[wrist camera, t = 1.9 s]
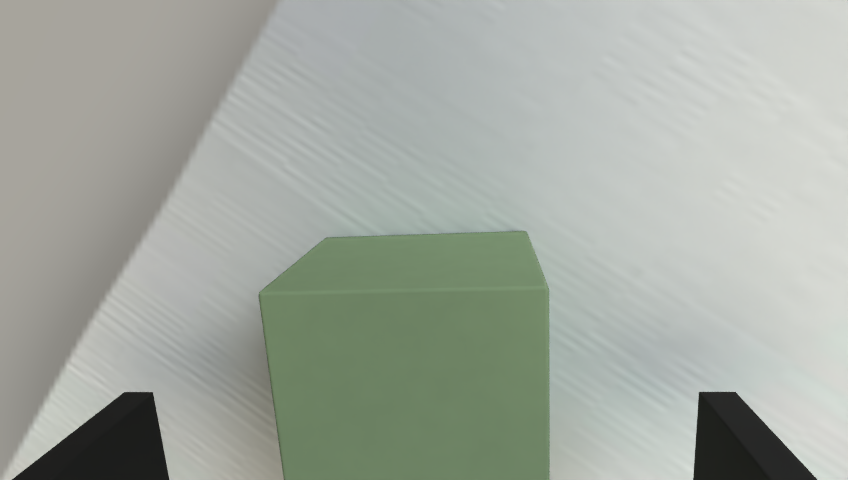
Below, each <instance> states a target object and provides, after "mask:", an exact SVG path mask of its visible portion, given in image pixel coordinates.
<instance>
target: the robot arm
mask: <svg viewBox="0 0 848 480" xmlns="http://www.w3.org/2000/svg"><path fill="white" fill-rule="evenodd" d="M12 480H169V476H168V470H167V465H166V460H165V454H164V449H163V444H162V439H161V433H160V428H159V423H158V417H157V412H156V407H155V401H154V396H153V392H124V393H123V394H122V395H120V396H119V397H118V398H116V399H115V400H114V401H113V402H111V403H110V404H109V405H107V406H106V407H105V408H104V409H102V410H101V411H100V412H98V413H97V414H96V415H95V416H93V417H92V418H91V419H89V420H88V421H87V422H86V423H84V424H83V425H82V426H80V427H79V428H78V429H77V430H75V431H74V432H73V433H71V434H70V435H69V436H68V437H66V438H65V439H64V440H62V441H61V442H60V443H59V444H57V445H56V446H55V447H53V448H52V449H51V450H50V451H48V452H47V453H46V454H44V455H43V456H42V457H41V458H39V459H38V460H37V461H35V462H34V463H33V464H32V465H30V466H29V467H28V468H26V469H25V470H24V471H23V472H21V473H20V474H19V475H17V476H16V477H15V478H14V479H12ZM693 480H817V479H816V478H815V477H814V476H813V475H812V473H811V472H810V471H809V470H808V469H807V468H806V467H805V466H804V465H803V464H802V463H801V462H800V461H799V460H798V458H797V457H796V456H795V455H794V454H793V453H792V452H791V451H790V450H789V449H788V448H787V447H786V446H785V445H784V444H783V442H782V441H781V440H780V439H779V438H778V437H777V436H776V435H775V434H774V433H773V432H772V431H771V430H770V429H769V428H768V426H767V425H766V424H765V423H764V422H763V421H762V420H761V419H760V418H759V417H758V416H757V415H756V414H755V413H754V411H753V410H752V409H751V408H750V407H749V406H748V405H747V404H746V403H745V402H744V401H743V400H742V399H741V398H740V397H739V395H738V394H737V393H736V392H699V402H698V418H697V433H696V448H695V463H694V478H693Z"/></svg>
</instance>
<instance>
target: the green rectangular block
mask: <svg viewBox="0 0 848 480" xmlns="http://www.w3.org/2000/svg"><path fill="white" fill-rule="evenodd" d="M259 301H260V309H261V316H262V323H263V330H264V338H265V345H266V352H267V359H268V367H269V374H270V381H271V388H272V396H273V403H274V410H275V417H276V425H277V432H278V439H279V446H280V454H281V461H282V468H283V475H284V480H549V288H548V285H547V283H546V280H545V277H544V275H543V272H542V270H541V267H540V265H539V262H538V259H537V257H536V254H535V252H534V249H533V247H532V244H531V242H530V239H529V236H528V234H527V232H525V231H513V232H483V233H453V234H422V235H392V236H362V237H332V238H325V239H324V240H323V241H321V242H320V243H319V244H318V245H317V246H315V247H314V248H313V249H312V250H310V251H309V252H308V253H307V254H306V255H304V256H303V257H302V258H301V259H299V260H298V261H297V262H296V263H295V264H293V265H292V266H291V267H290V268H288V269H287V270H286V271H285V272H284V273H282V274H281V275H280V276H279V277H277V278H276V279H275V280H274V281H273V282H271V283H270V284H269V285H268V286H266V287H265V288H264V289H263V290H262V291H260V292H259Z"/></svg>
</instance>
